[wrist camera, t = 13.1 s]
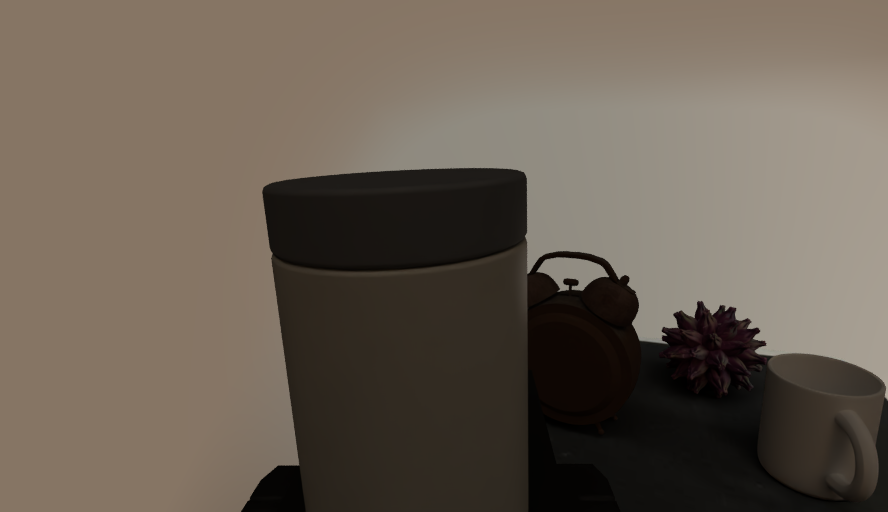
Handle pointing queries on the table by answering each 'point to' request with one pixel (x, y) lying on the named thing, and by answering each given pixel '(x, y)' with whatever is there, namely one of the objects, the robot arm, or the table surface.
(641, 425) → the table surface
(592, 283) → the alarm clock
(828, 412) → the mug
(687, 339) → the flower
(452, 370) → the grey-capped cream cylinder
